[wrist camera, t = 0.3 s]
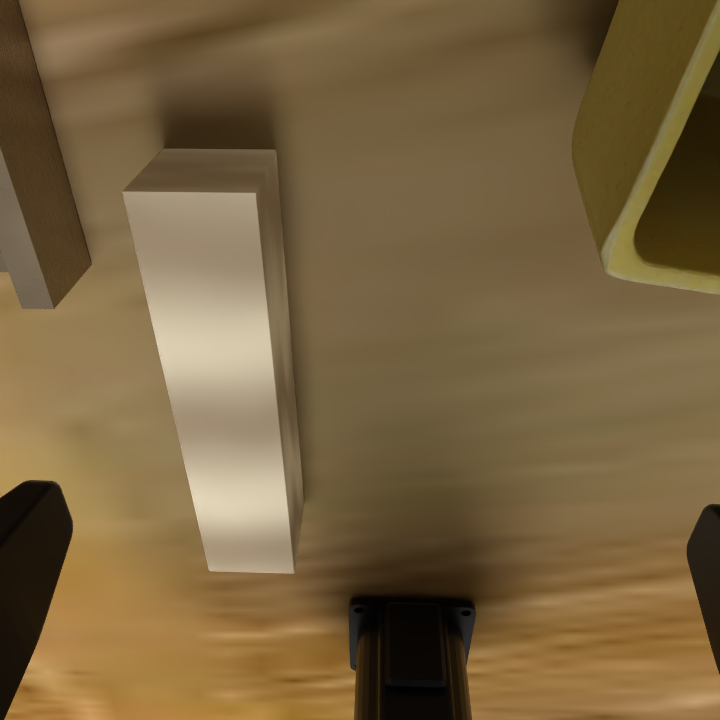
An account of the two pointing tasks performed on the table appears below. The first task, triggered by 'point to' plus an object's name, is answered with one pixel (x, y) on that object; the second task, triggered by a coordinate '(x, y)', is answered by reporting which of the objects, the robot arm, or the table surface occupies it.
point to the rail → (225, 345)
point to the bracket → (33, 181)
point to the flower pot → (655, 145)
